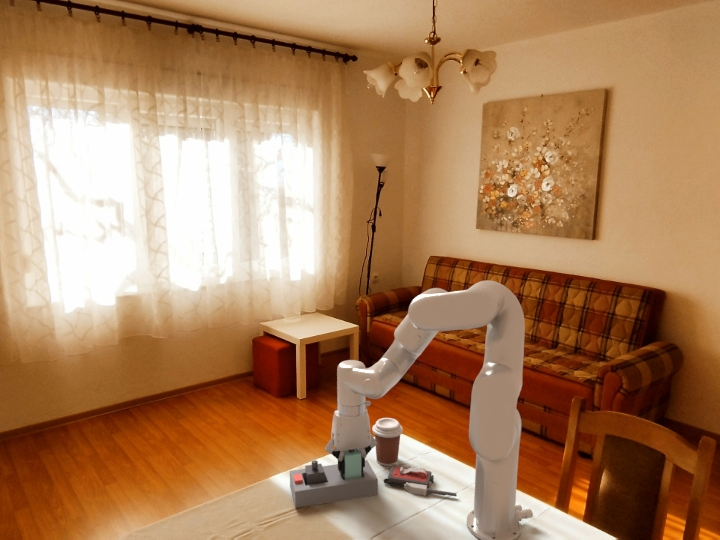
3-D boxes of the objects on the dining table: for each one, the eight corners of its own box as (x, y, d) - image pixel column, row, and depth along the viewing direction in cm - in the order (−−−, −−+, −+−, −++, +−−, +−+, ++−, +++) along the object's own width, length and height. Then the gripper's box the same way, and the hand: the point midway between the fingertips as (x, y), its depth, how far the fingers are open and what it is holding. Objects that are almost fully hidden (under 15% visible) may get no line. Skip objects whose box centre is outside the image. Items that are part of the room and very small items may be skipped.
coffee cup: (369, 453, 157) (369, 417, 155) (398, 451, 159) (398, 415, 157) (375, 469, 148) (375, 431, 146) (405, 467, 150) (406, 428, 148)
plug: (357, 469, 141) (357, 439, 140) (361, 478, 137) (361, 447, 136) (341, 472, 140) (341, 441, 139) (345, 480, 136) (345, 449, 135)
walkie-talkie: (381, 490, 139) (456, 502, 134) (381, 475, 138) (456, 486, 133) (388, 473, 147) (458, 484, 142) (388, 459, 146) (459, 469, 141)
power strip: (367, 474, 146) (367, 445, 144) (377, 494, 136) (377, 463, 135) (290, 486, 140) (289, 455, 138) (295, 507, 130) (294, 475, 129)
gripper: (377, 398, 141) (376, 459, 144) (317, 405, 137) (318, 468, 140) (386, 409, 134) (385, 473, 137) (322, 416, 130) (323, 483, 133)
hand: (351, 470), depth 138 cm, fingers closed on plug, 4 cm apart
